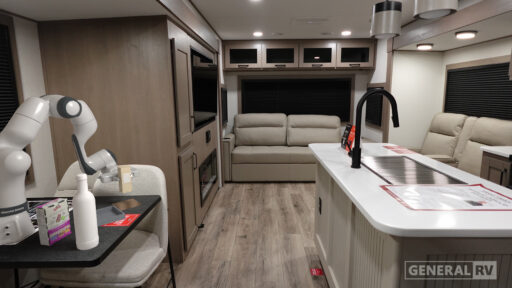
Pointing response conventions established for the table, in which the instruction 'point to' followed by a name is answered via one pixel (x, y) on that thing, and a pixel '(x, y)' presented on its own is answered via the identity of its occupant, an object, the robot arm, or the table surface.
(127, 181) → the parts box
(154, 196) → the table surface
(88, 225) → the bottle
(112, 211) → the parts bin
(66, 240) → the table surface
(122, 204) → the walnut board
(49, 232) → the candy bar box
